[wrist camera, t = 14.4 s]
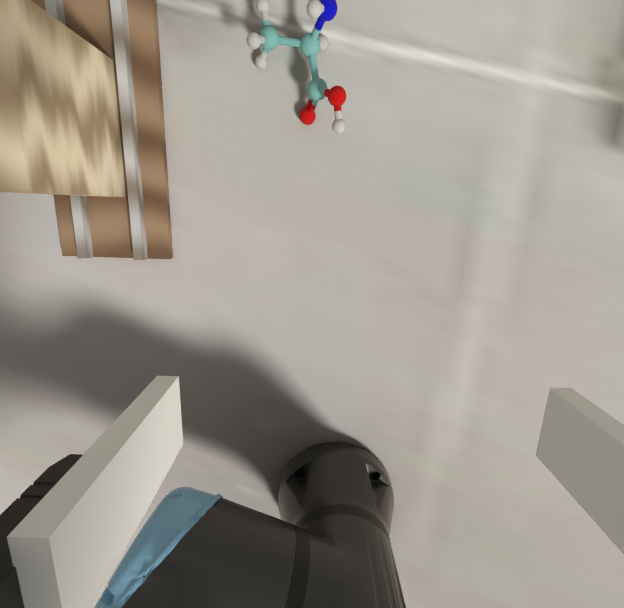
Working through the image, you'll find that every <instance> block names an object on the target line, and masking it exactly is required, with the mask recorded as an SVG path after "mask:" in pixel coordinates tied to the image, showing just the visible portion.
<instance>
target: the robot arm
mask: <svg viewBox="0 0 624 608" xmlns="http://www.w3.org/2000/svg"><path fill="white" fill-rule="evenodd" d="M182 446H183V432H182V417H181V402H180V387H179V376H156V377H155V378H154V380H153V381H152V382H151V383H150V384H149V385H148V386H147V387H146V388H145V389H144V390H143V391H142V392H141V393H140V395H139V396H138V397H137V398H136V399H135V400H134V401H133V402H132V403H131V404H130V405H129V406H128V407H127V408H126V410H125V411H124V412H123V413H122V414H121V415H120V416H119V417H118V418H117V419H116V420H115V421H114V422H113V423H112V425H111V426H110V427H109V428H108V429H107V430H106V431H105V432H104V433H103V434H102V435H101V436H100V437H99V439H98V440H97V441H96V442H95V443H94V444H93V445H92V446H91V447H90V448H89V449H88V450H87V451H86V452H85V454H84V455H76V454H70V455H68V456H67V457H65V458H63V459H62V460H60V461H58V462H57V463H55V464H53V465H52V466H50V467H49V468H48V469H47V470H46V471H45V472H44V473H43V474H42V475H41V476H40V477H39V478H38V479H37V480H36V481H35V482H34V484H33V485H30V486H29V487H28V488H27V489H26V490H25V491H24V492H23V493H22V494H21V497H20V498H19V499H18V498H17V499H16V500H15V501H14V502H13V503H12V504H11V505H10V506H9V507H8V508H7V509H6V510H5V511H4V512H3V513H2V514H1V515H0V608H93V607H94V605H95V603H96V601H97V599H98V598H99V596H100V594H101V592H102V590H103V589H104V587H105V585H106V583H107V581H108V579H109V578H110V576H111V574H112V572H113V570H114V569H115V567H116V565H117V563H118V561H119V560H120V558H121V556H122V554H123V552H124V551H125V549H126V547H127V545H128V543H129V542H130V540H131V538H132V536H133V534H134V533H135V531H136V529H137V527H138V525H139V523H140V522H141V520H142V518H143V516H144V514H145V513H146V511H147V509H148V507H149V505H150V504H151V502H152V500H153V498H154V496H155V495H156V493H157V491H158V489H159V487H160V486H161V484H162V482H163V480H164V478H165V476H166V475H167V473H168V471H169V469H170V467H171V466H172V464H173V462H174V460H175V458H176V457H177V455H178V453H179V451H180V449H181V448H182ZM536 456H537V457H538V458H539V459H540V460H541V462H542V463H543V464H544V465H545V466H546V467H547V468H548V469H549V471H550V472H551V473H552V474H553V475H554V476H555V477H556V478H557V480H558V481H559V482H560V483H561V484H562V485H563V486H564V487H565V489H566V490H567V491H568V492H569V493H570V494H571V495H572V496H573V498H574V499H575V500H576V501H577V502H578V503H579V504H580V505H581V507H582V508H583V509H584V510H585V511H586V512H587V513H588V514H589V516H590V517H591V518H592V519H593V520H594V521H595V522H596V523H597V525H598V526H599V527H600V528H601V529H602V530H603V531H604V532H605V534H606V535H607V536H608V537H609V538H610V539H611V540H612V541H613V543H614V544H615V545H616V546H617V547H618V548H619V549H620V550H621V552H622V553H623V554H624V425H623V424H621V423H620V422H618V421H617V420H616V419H614V418H613V417H611V416H610V415H609V414H607V413H606V412H604V411H603V410H601V409H600V408H599V407H597V406H596V405H594V404H593V403H592V402H590V401H589V400H587V399H586V398H585V397H583V396H582V395H580V394H579V393H577V392H576V391H575V390H573V389H572V388H550V390H549V394H548V399H547V404H546V409H545V413H544V418H543V423H542V428H541V432H540V437H539V442H538V447H537V451H536ZM222 497H223V496H222V495H220V494H217V495H213V494H209V493H206V492H203V491H200V490H196V489H193V488H190V487H180V488H177V489H175V490H173V491H171V492H170V493H169V494H168V495H166V496H165V497H164V499H163V500H162V501H161V502H160V504H159V505H158V506H157V508H156V509H155V510H154V512H153V513H152V515H151V516H150V517H149V519H148V520H147V522H146V523H145V525H144V526H143V528H142V529H141V531H140V532H139V534H138V535H137V537H136V538H135V540H134V542H133V543H132V545H131V546H130V548H129V549H128V551H127V553H126V554H125V556H124V557H123V559H122V561H121V562H120V564H119V566H118V567H117V569H116V571H115V572H114V574H113V576H112V578H111V579H110V581H109V584H108V586H107V588H106V589H105V591H104V593H103V595H102V597H101V598H100V600H99V601H98V602H97V604H96V606H95V608H406V606H405V602H404V597H403V593H402V589H401V585H400V581H399V577H398V572H397V568H396V564H395V560H394V556H393V551H392V547H391V543H390V539H389V533H390V526H391V520H392V513H393V506H394V496H393V490H392V486H391V482H390V479H389V475H388V473H387V471H386V469H385V467H384V466H383V464H382V463H381V462H380V461H379V460H378V459H377V458H376V457H375V456H374V455H373V454H371V453H370V452H368V451H367V450H365V449H363V448H360V447H358V446H355V445H351V444H347V443H324V444H320V445H316V446H313V447H311V448H308V449H306V450H304V451H303V452H301V453H300V454H298V455H297V456H296V457H295V458H293V459H292V460H291V462H290V463H289V464H288V465H287V467H286V468H285V470H284V472H283V474H282V477H281V480H280V485H279V493H278V507H279V513H280V516H281V519H282V520H280V519H277V518H275V517H272V516H269V515H267V514H264V513H261V512H259V511H256V510H253V509H251V508H248V507H245V506H243V505H240V504H237V503H235V502H232V501H229V500H227V499H224V498H222Z"/></svg>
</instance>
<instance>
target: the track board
mask: <svg viewBox="0 0 624 608" xmlns="http://www.w3.org/2000/svg"><path fill="white" fill-rule="evenodd" d="M31 1H32V2H34V3H35V4H36V5H38V6H39V7H40V8H42V9H43V10H45V11H46V12H47V13H49V14H50V15H51V16H53V17H54V18H56V19H57V20H58V21H60V22H61V23H62V24H64V25H65V26H67V27H68V28H69V29H71V30H72V31H74V32H75V33H76V34H78V35H79V36H80V37H82V38H83V39H85V40H86V41H87V42H89V43H90V44H91V45H93V46H94V47H96V48H97V49H98V50H100V51H101V52H102V53H104V54H105V55H107V56H108V57H109V58H111V59H112V60H113V61H114V72H115V83H116V93H117V104H118V115H119V126H120V136H121V147H122V158H123V169H124V179H125V190H126V197H104V196H79V195H58V194H54V197H55V205H56V212H57V219H58V226H59V233H60V240H61V248H62V255H63V256H78V258H90V257H120V258H134V260H144V259H147V258H152V259H171V258H173V251H172V236H171V221H170V205H169V190H168V175H167V159H166V144H165V128H164V113H163V98H162V82H161V67H160V51H159V36H158V21H157V5H156V0H31Z"/></svg>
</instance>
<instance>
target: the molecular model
mask: <svg viewBox="0 0 624 608" xmlns="http://www.w3.org/2000/svg"><path fill="white" fill-rule="evenodd" d="M256 8H257V10H258V11H259V12H260V13H261V16H262V21H263V26H264V28H262V30H261V31H260V34H259V35H258V34H257V33H256V32H251V33H249V34H248V36H247V44H248V46H249V47H250V48H251V49H257V48H259V46H260V44H261V46H262V47H263V48H262V51H261V54H260V55H258V56H257V57H256V59H255V64H256V66H257V68H259V69H261V70H263V69H265V68H266V67H267V65H268V61H267V58H266V57H267V54H268V51H270V50H274V49H275V48H276V47H277V46H278V44H281V45H287V46H294V47H300V48H301V51H302V53H303V54H304V55H305V56H307V57H309V62H310V68H311V74H312V80H311V81H310V83H309V85H308V93H309V96H310V97H309V100H308V103H307V106H306V107H305V108H303V109H302V110H301V112H300V120H301V121H302V123H304V124H306V125H310V124H312V123H313V122H314V120H315V112H314V110H315V107H316V105H317V102H318V100H321V99H323V98H324V97H325V96H326V97H328V100H329V102H330V104H331V105H333V106H334V111H335V120H334V121H333V124H332V129H333V130H334V132H336V133H342V132H343V131H344V130H345V128H346V124H345V122H344V120H343V119H342V113H341V105H342V104H343V103H344V102H345V100H346V92H345V90H344V89H343V88H342V87H340V86H334V87H332V88H331V89H327V85H326V83H325V81H324V80H323V79H321V78H319V76H318V69H317V63H316V57H315V55H316V54H317V53H318V52H319V50H325V49H326V48H327V46H328V40H327V38H326V36H324V35H320V36H318V35H319V33H320V31H321V29H322V27H323V24H324V22H325V21H330V20H332V19H333V18H334V16H335V15H336V12H337V4H336V1H335V0H310V1H309V2H308V4H307V13H308V15H309V16H310V17H311V18H314V19H315V18H318V20H317V22H316V24H315V27H314V29H313V31H312V33H307V34H305V35H304V36H303V37H302V39H295V38H289V37H283V36H279V34H278V32H277V30H276V29H275V28H274V27H272V26H270V22H269V16H268V11H269V9H270V3H269V1H268V0H257V2H256Z"/></svg>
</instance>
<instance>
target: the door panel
mask: <svg viewBox="0 0 624 608" xmlns="http://www.w3.org/2000/svg"><path fill="white" fill-rule="evenodd" d="M0 192H15V193H37V194H58V195H79V196H104V197H126V190H125V179H124V169H123V158H122V147H121V136H120V126H119V115H118V104H117V93H116V83H115V72H114V61H113V60H112V59H111V58H109V57H108V56H107V55H105V54H104V53H102V52H101V51H100V50H98V49H97V48H96V47H94V46H93V45H91V44H90V43H89V42H87V41H86V40H85V39H83V38H82V37H80V36H79V35H78V34H76V33H75V32H74V31H72V30H71V29H69V28H68V27H67V26H65V25H64V24H62V23H61V22H60V21H58V20H57V19H56V18H54V17H53V16H51V15H50V14H49V13H47V12H46V11H45V10H43V9H42V8H40V7H39V6H38V5H36V4H35V3H34V2H32V1H31V0H0Z"/></svg>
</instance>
